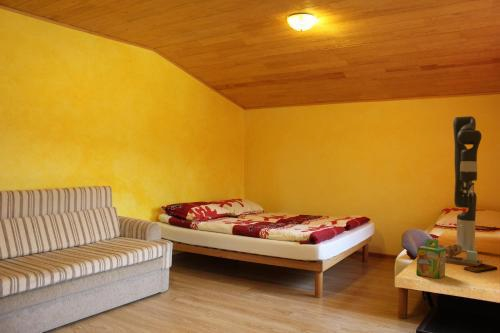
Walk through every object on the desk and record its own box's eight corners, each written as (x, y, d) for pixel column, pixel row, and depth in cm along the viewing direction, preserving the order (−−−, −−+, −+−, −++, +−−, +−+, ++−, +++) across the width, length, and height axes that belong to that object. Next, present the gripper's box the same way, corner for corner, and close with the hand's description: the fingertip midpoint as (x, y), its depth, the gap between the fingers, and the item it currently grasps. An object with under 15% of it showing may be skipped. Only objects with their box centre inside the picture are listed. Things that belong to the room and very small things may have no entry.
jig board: (434, 256, 218) (434, 253, 218) (482, 263, 204) (482, 260, 204) (426, 259, 208) (426, 256, 208) (476, 267, 194) (476, 263, 194)
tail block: (467, 262, 204) (468, 250, 204) (477, 264, 202) (477, 251, 202) (466, 264, 201) (466, 251, 201) (475, 265, 198) (475, 252, 198)
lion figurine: (461, 263, 206) (465, 245, 205) (456, 264, 202) (460, 246, 201) (432, 253, 216) (435, 236, 216) (427, 254, 213) (430, 237, 212)
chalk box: (415, 275, 175) (416, 239, 175) (423, 271, 182) (423, 237, 182) (439, 279, 169) (440, 242, 169) (445, 275, 176) (446, 239, 176)
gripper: (463, 171, 216) (463, 202, 215) (456, 170, 205) (455, 204, 204) (480, 171, 211) (479, 203, 211) (473, 170, 200) (473, 205, 200)
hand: (467, 203), depth 208 cm, fingers open, 8 cm apart
